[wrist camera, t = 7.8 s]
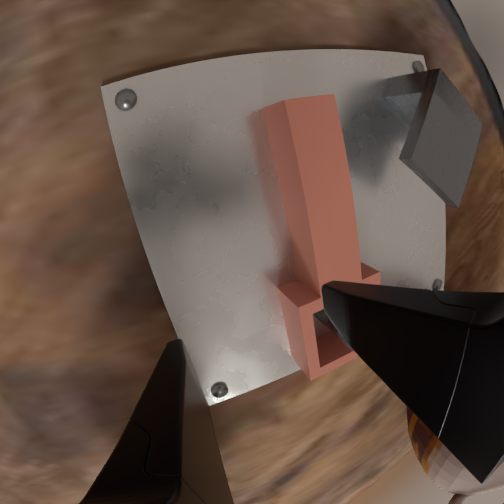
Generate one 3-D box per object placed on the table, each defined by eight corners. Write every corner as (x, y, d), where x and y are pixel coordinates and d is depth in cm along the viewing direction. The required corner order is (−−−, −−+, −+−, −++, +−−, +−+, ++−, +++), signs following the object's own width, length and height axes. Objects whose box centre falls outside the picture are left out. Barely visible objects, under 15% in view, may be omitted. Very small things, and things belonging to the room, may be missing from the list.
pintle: (332, 314, 22) (369, 343, 18) (315, 322, 22) (350, 354, 18) (330, 297, 22) (368, 325, 18) (312, 304, 22) (348, 335, 18)
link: (358, 326, 24) (381, 343, 21) (291, 357, 22) (310, 380, 20) (327, 99, 18) (355, 92, 15) (237, 112, 16) (255, 104, 14)
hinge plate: (441, 289, 27) (445, 291, 27) (208, 403, 22) (209, 407, 21) (420, 55, 19) (425, 55, 19) (101, 87, 14) (100, 86, 13)
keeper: (405, 196, 22) (458, 208, 17) (354, 156, 20) (410, 159, 15) (431, 123, 21) (482, 124, 17) (386, 78, 19) (440, 68, 14)
